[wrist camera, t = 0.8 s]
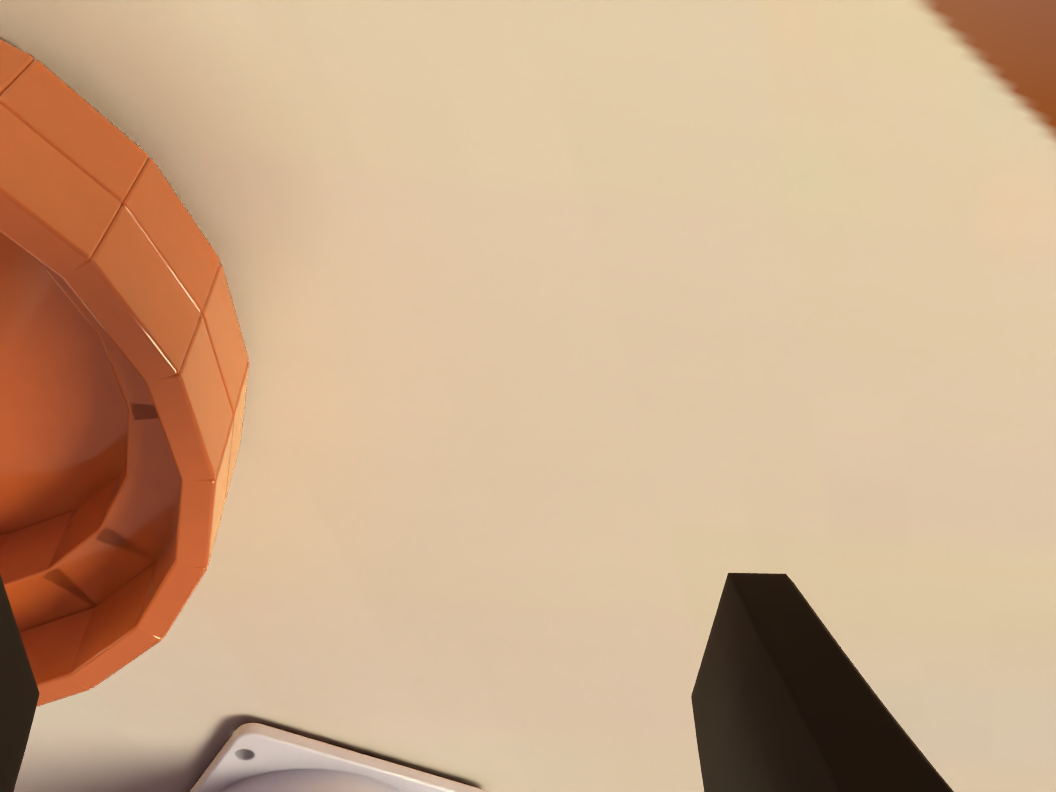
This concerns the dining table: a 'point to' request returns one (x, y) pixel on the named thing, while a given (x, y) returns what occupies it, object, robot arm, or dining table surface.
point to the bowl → (104, 386)
